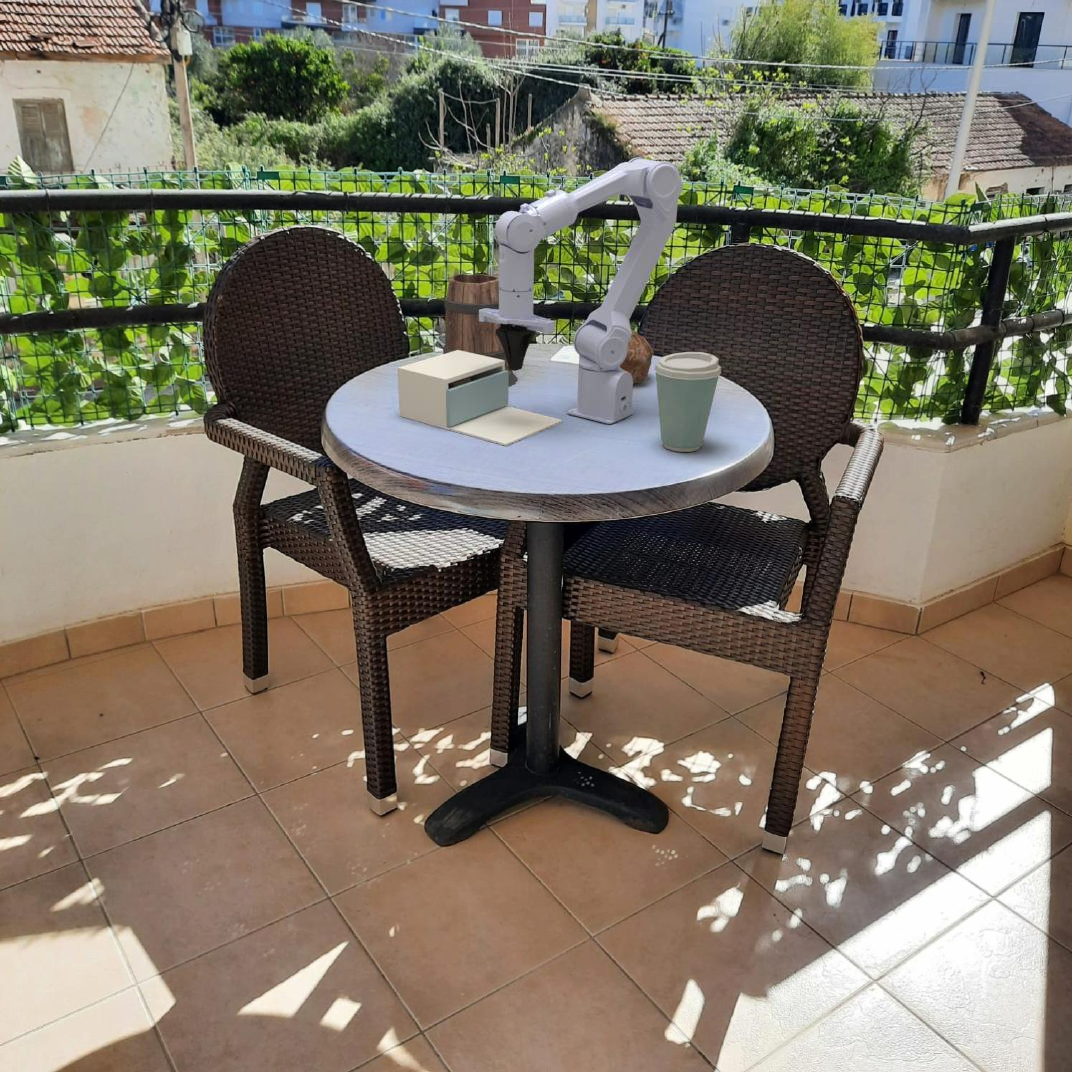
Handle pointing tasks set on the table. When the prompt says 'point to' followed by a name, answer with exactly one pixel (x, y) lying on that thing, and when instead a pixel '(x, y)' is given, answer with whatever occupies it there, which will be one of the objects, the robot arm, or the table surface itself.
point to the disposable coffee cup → (685, 398)
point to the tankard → (473, 317)
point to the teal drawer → (477, 397)
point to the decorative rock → (637, 358)
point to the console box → (428, 404)
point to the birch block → (459, 382)
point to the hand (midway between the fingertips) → (515, 369)
